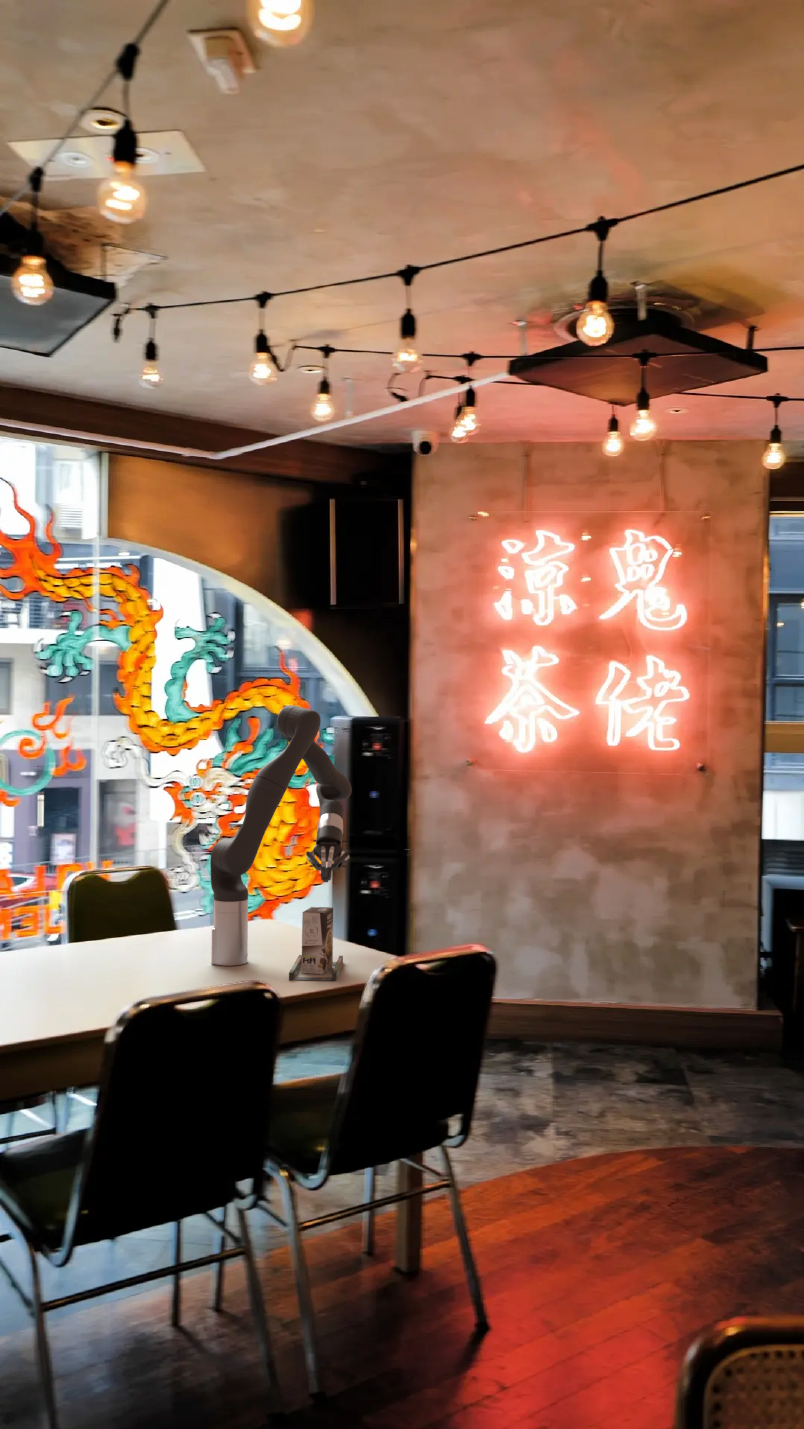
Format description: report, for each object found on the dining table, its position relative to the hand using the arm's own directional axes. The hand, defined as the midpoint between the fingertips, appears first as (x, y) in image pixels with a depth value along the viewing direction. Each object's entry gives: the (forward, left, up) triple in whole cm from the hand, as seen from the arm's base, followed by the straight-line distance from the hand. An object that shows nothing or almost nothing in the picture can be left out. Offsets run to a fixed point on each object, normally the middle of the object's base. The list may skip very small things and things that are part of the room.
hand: (325, 880), depth 318 cm
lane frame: (0, -21, -21) cm, 29 cm away
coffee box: (0, -19, -21) cm, 29 cm away
